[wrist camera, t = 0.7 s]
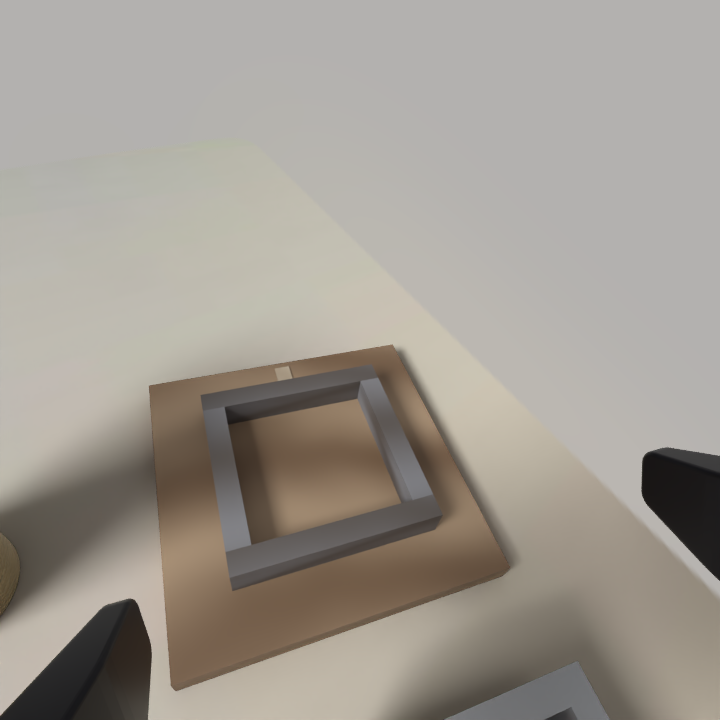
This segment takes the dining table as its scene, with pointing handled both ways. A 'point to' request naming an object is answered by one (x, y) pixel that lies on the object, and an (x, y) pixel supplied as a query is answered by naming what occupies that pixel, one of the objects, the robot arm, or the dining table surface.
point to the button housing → (543, 700)
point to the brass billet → (8, 572)
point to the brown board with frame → (304, 508)
